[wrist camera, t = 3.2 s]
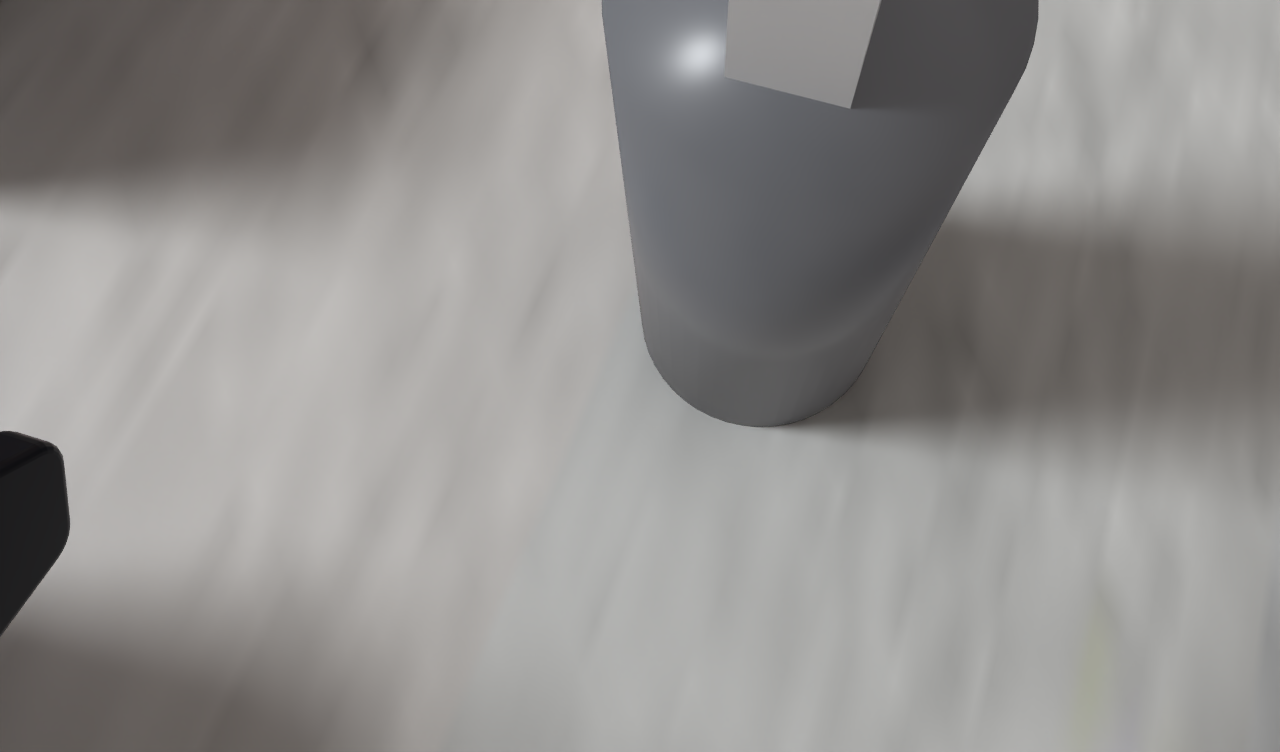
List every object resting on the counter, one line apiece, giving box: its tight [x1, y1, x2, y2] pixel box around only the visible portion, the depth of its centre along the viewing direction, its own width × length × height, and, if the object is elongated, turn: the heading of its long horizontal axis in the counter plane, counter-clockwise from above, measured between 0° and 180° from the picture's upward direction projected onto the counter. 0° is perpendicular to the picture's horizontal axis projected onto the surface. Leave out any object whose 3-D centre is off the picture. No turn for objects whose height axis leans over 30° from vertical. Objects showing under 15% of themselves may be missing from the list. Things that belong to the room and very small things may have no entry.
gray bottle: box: [602, 0, 1038, 427], centre depth 17 cm, size 5×5×13 cm
